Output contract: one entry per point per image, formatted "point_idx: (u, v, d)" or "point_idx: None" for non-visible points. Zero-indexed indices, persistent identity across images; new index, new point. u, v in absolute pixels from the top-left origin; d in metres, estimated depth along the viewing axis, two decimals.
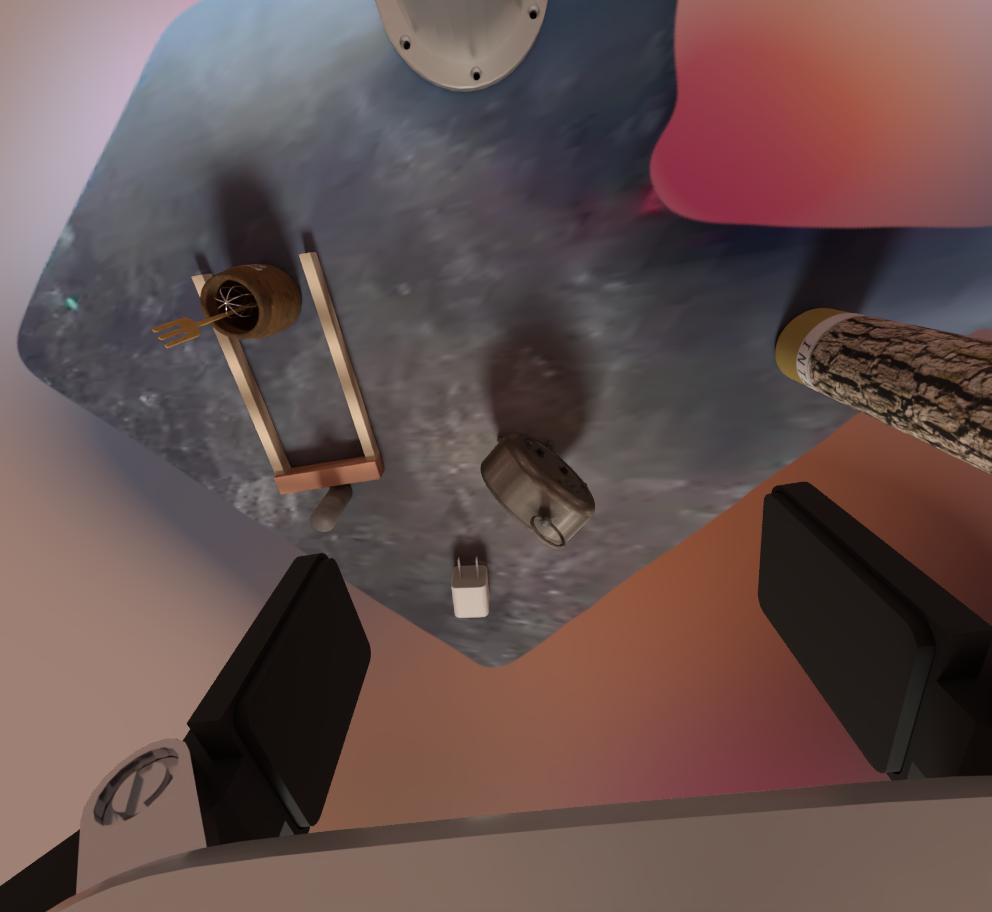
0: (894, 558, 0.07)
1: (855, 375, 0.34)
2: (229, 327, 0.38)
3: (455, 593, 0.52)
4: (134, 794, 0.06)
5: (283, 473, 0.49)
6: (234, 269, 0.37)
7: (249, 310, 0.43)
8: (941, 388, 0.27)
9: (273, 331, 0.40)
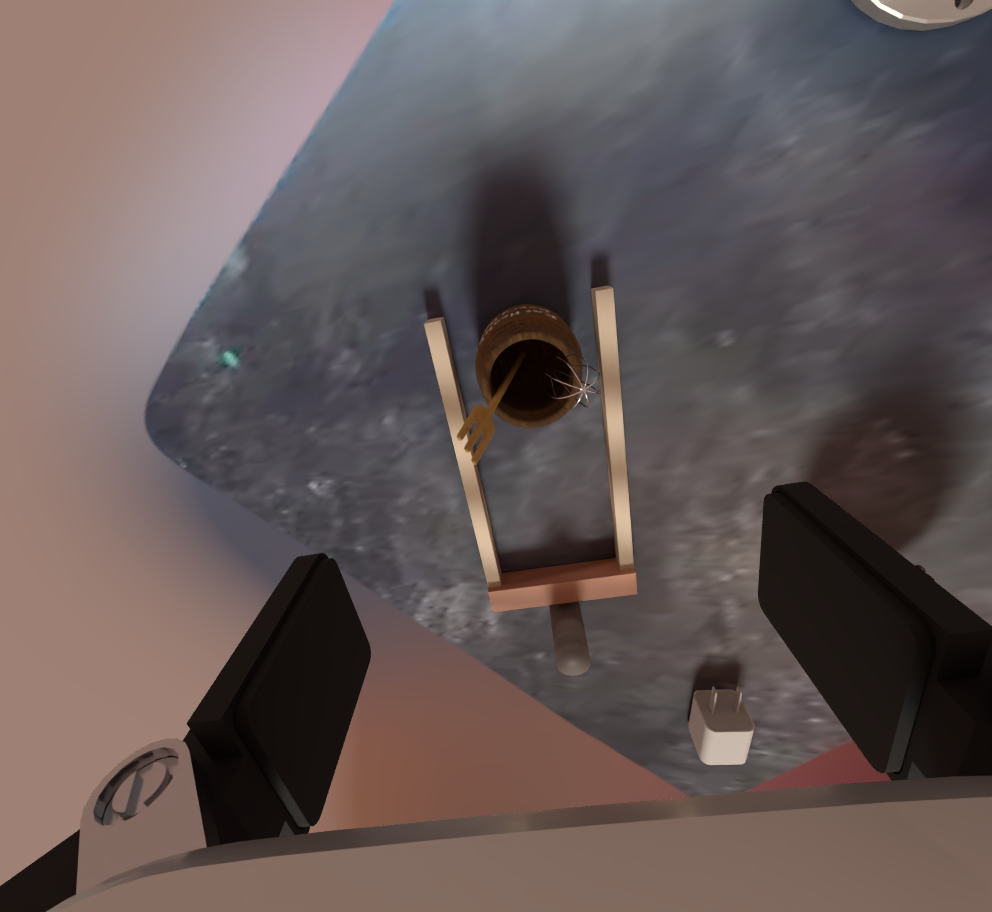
0: (894, 558, 0.07)
1: None
2: (505, 407, 0.25)
3: (713, 738, 0.39)
4: (134, 794, 0.06)
5: (499, 585, 0.35)
6: (527, 319, 0.24)
7: (491, 369, 0.29)
8: None
9: None
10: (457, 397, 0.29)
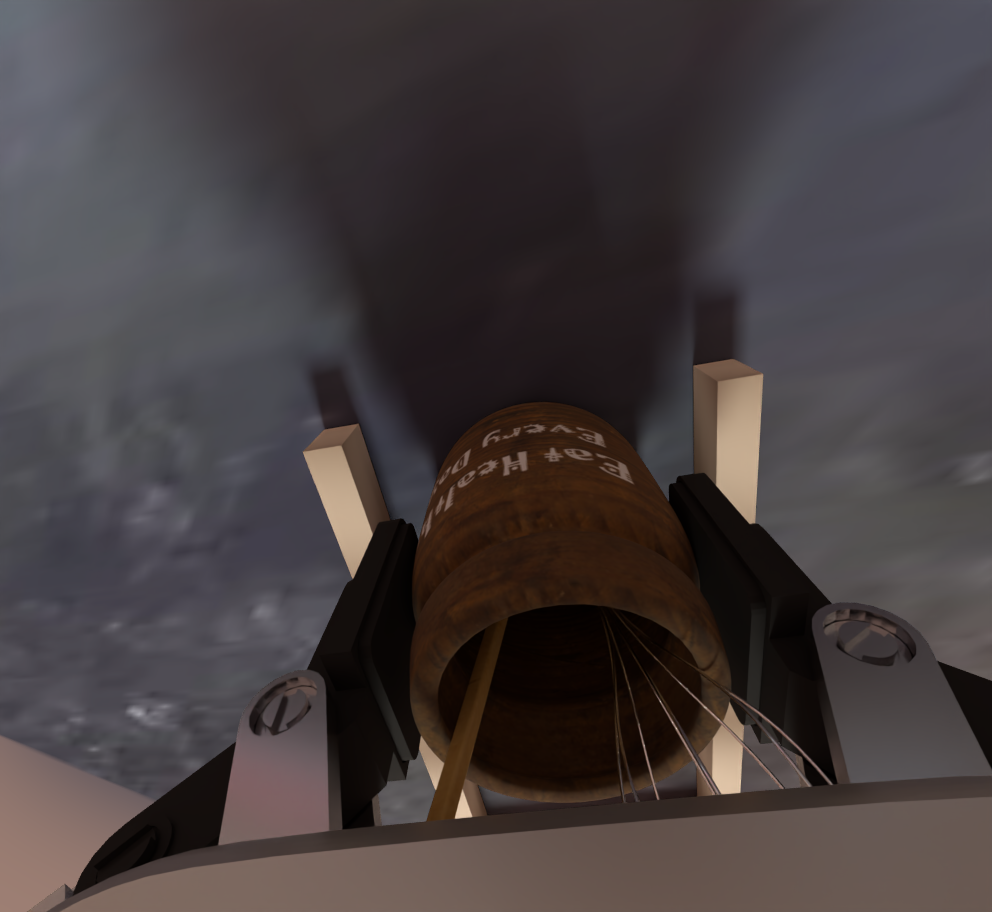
0: (751, 536, 0.08)
1: None
2: (490, 714, 0.09)
3: None
4: (280, 714, 0.07)
5: None
6: (552, 497, 0.08)
7: None
8: None
9: None
10: None
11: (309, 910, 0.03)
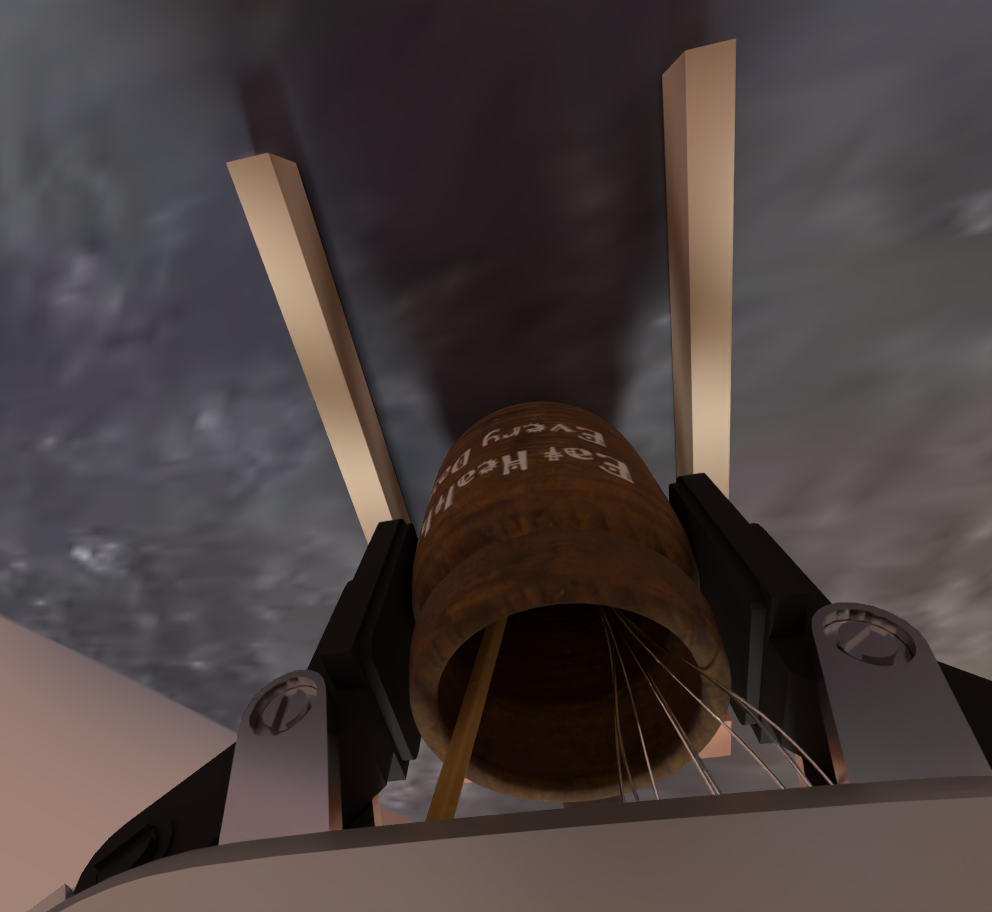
0: (751, 536, 0.08)
1: None
2: (490, 713, 0.09)
3: None
4: (280, 714, 0.07)
5: None
6: (552, 496, 0.08)
7: None
8: None
9: None
10: (338, 363, 0.12)
11: (309, 910, 0.03)
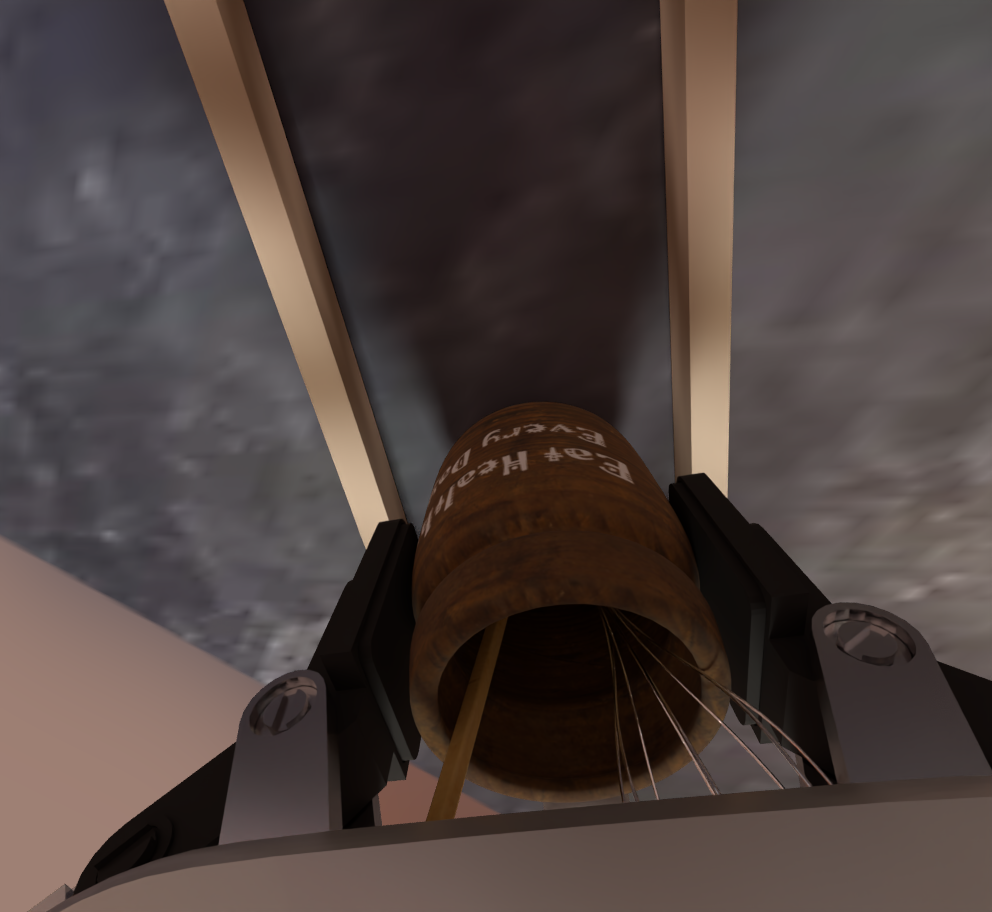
0: (751, 536, 0.08)
1: None
2: (490, 714, 0.09)
3: None
4: (280, 714, 0.07)
5: None
6: (552, 496, 0.08)
7: None
8: None
9: None
10: (231, 54, 0.09)
11: (309, 910, 0.03)
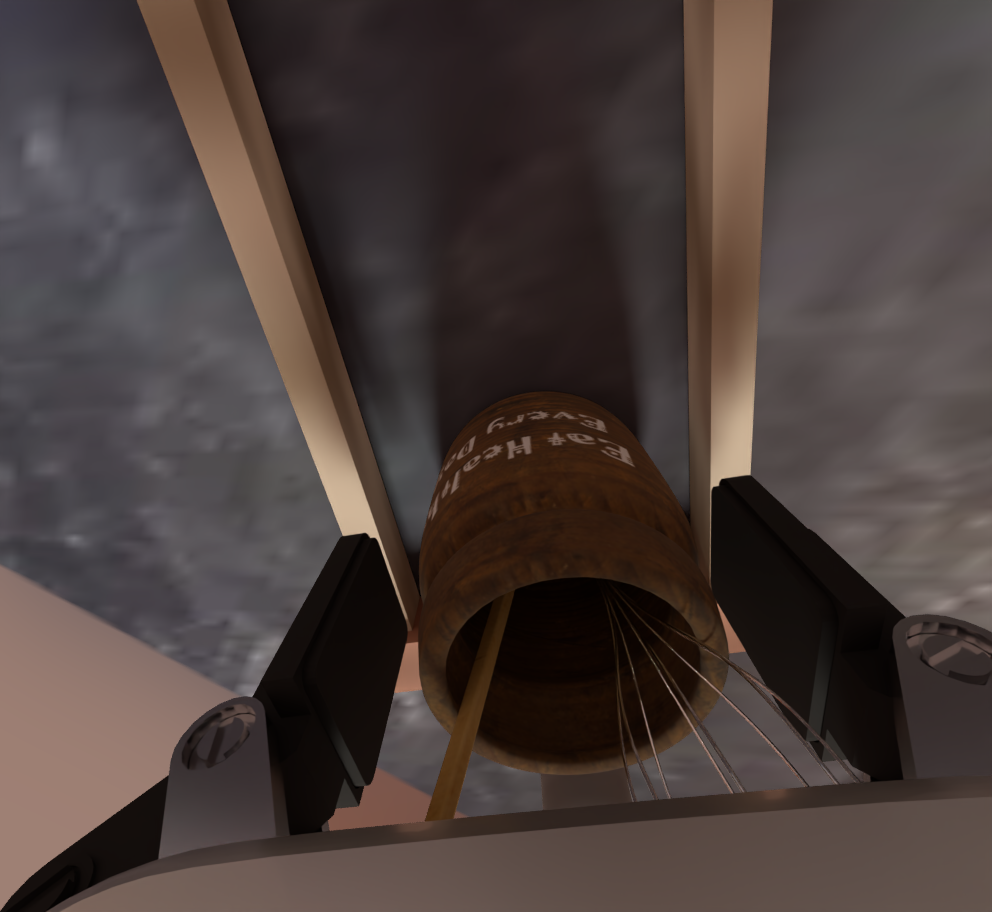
0: (813, 543, 0.07)
1: None
2: (495, 691, 0.09)
3: None
4: (216, 745, 0.06)
5: None
6: (555, 478, 0.08)
7: None
8: None
9: None
10: None
11: (309, 910, 0.03)
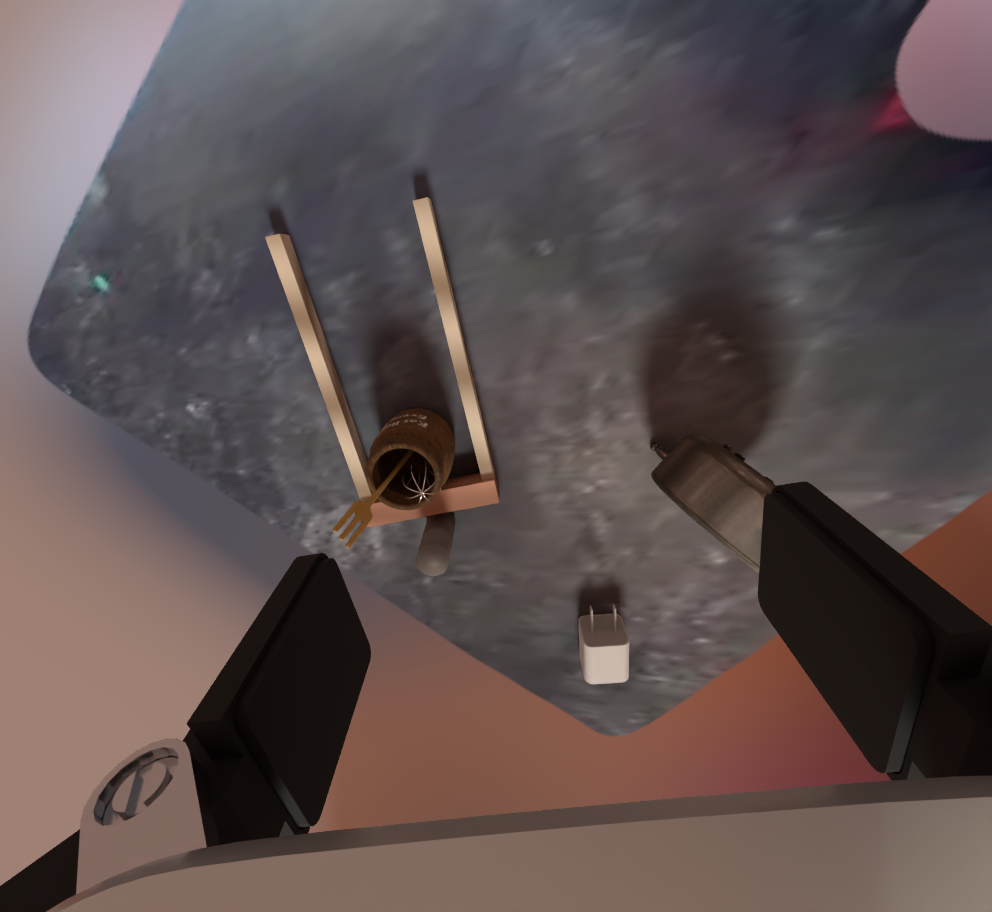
0: (894, 558, 0.07)
1: None
2: (391, 493, 0.33)
3: (591, 654, 0.41)
4: (134, 794, 0.06)
5: None
6: (401, 430, 0.32)
7: (393, 456, 0.37)
8: None
9: None
10: (305, 308, 0.32)
11: (309, 910, 0.03)
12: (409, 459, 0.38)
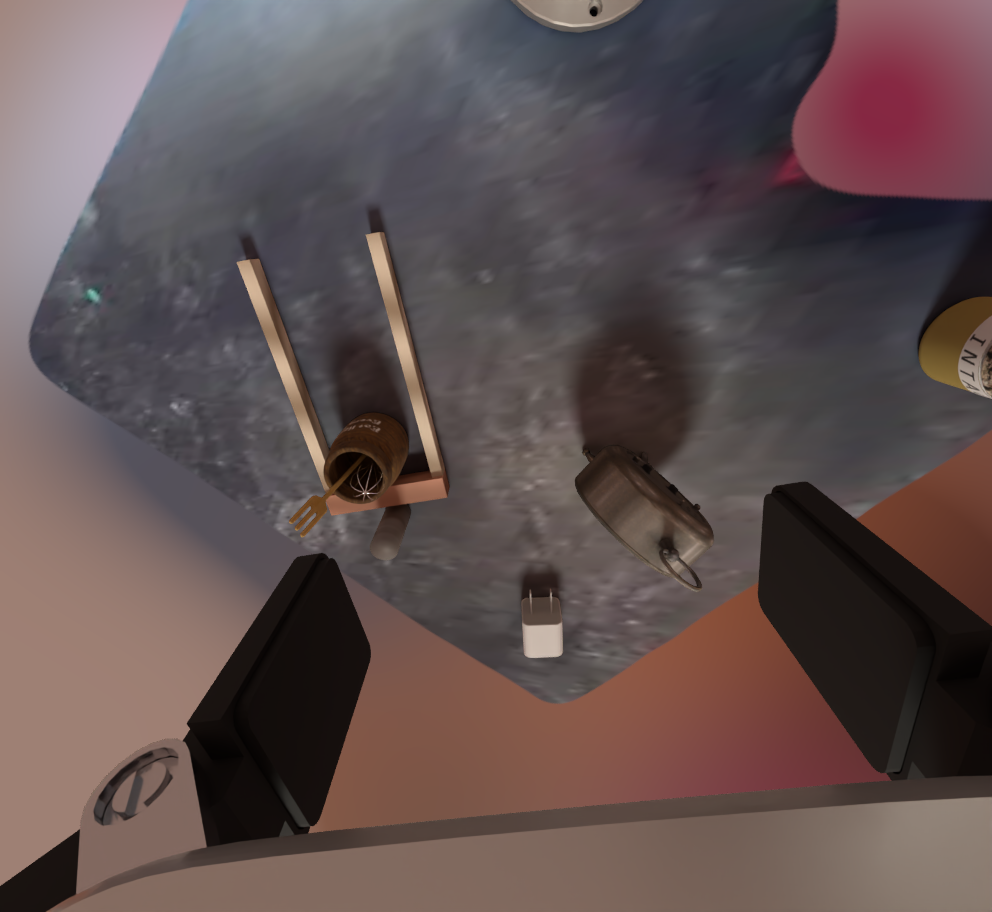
0: (894, 558, 0.07)
1: None
2: (347, 489, 0.37)
3: (528, 631, 0.46)
4: (134, 794, 0.06)
5: None
6: (355, 434, 0.36)
7: (354, 454, 0.42)
8: None
9: (388, 487, 0.39)
10: (273, 324, 0.36)
11: (309, 910, 0.03)
12: (368, 456, 0.42)
